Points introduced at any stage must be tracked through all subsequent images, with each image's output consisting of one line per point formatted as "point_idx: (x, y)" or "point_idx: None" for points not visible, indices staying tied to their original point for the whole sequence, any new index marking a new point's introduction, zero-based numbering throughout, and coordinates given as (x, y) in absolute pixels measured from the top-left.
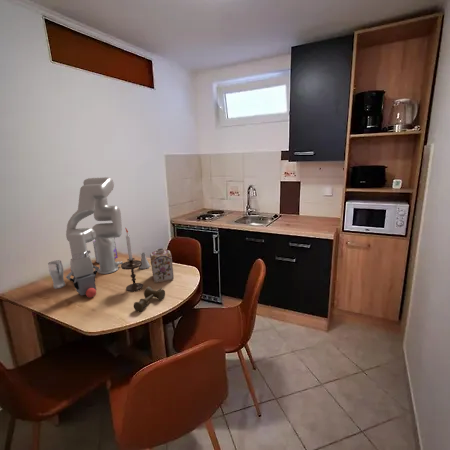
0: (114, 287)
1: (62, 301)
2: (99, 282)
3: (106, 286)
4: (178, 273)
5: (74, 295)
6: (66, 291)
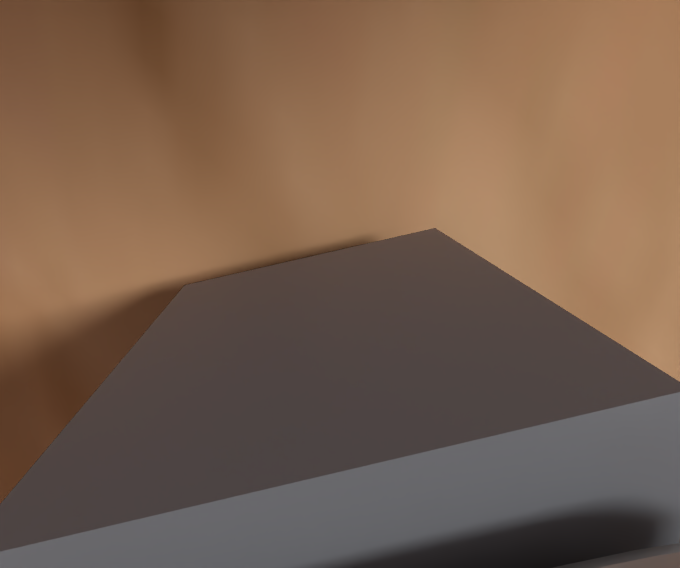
0: (674, 375)
1: (7, 389)
2: (606, 6)
3: (617, 275)
4: None
5: (163, 295)
6: (3, 9)
